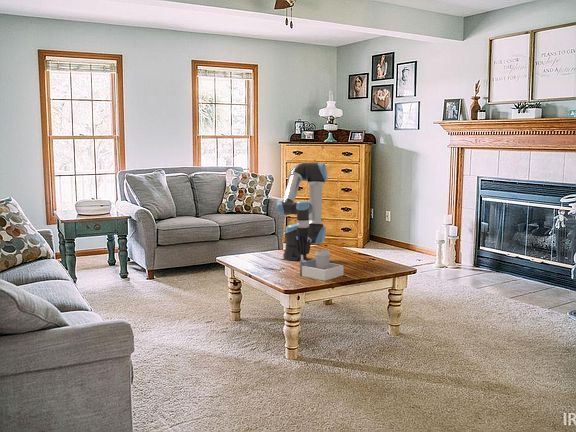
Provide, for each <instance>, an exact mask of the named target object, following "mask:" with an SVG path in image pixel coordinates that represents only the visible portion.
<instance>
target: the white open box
mask: <svg viewBox="0 0 576 432" xmlns="http://www.w3.org/2000/svg"><path fill="white" fill-rule="evenodd" d="M299 276H301V277H306V278H309V279H314V280H320V281H323V282H326V281H328V280H332V279H336V278H339V277H342V276H344V264H339V263H333V262H329V269H326V270H322V269H317V268H312V267H307V266H302V260H299Z"/></svg>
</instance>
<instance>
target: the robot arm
mask: <svg viewBox="0 0 576 432" xmlns="http://www.w3.org/2000/svg"><path fill="white" fill-rule="evenodd" d="M303 181H307V184H308V185H309V192H308V193H309V195H308V196H309V197H308V201H307V200H301V201H300V200H299V201H297V202H295V201H296V198H297V193H298V191H299V187H300V184H301V183H302V182H303ZM326 181H328V170H327V165H326V163H323V162H302V163H298V164H297V165H296V166H294V167H293V168H292V169H291V170H290V172H289V173H288V182H287V185H286V188H285V192H284V195H283V198H282V201H280V202H279V201H278V202H277V204H276V212H277V214H278V215H295V216H296V223H293V224H289V225H287V226H285V231H284V233H285V249H284V252H283V256H282V259H284V260H286V261H290V262H291V261H293V262H294V261H300V260H302V262H304V261H307V255H308V254H310V251H311V246H312V245H321V244H323V243H324V242H325V239H326V233H327V227H326V226H324V222H322V214H323V213H322V212H323V211H322V209H323V186H324V185H325V183H326ZM311 244H312V245H311Z"/></svg>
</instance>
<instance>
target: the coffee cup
mask: <svg viewBox="0 0 576 432" xmlns="http://www.w3.org/2000/svg"><path fill="white" fill-rule="evenodd" d="M331 254H332V253H331V252H330V250H329V249H326V248H325V249H322V248H321V249H316V250H315V252H314V255H315V256H314V257H315V259H316V267H317V269H322V270H326V269H329V263H330V259H331V258H330V257H331Z"/></svg>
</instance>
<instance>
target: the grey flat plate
mask: <svg viewBox="0 0 576 432" xmlns="http://www.w3.org/2000/svg"><path fill="white" fill-rule="evenodd" d="M302 266H307V267H312V268H317V267H316V258H312V259H309V260H306V261H304V262H302Z"/></svg>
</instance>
